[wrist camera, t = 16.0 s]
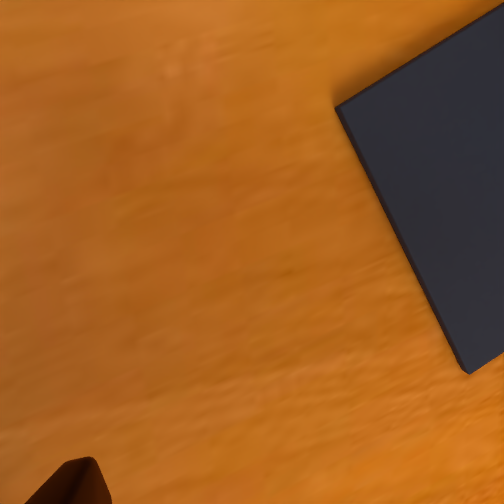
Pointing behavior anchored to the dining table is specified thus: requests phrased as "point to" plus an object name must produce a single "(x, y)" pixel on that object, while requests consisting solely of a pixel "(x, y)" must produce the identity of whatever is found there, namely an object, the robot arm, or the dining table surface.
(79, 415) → the dining table surface
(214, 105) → the dining table surface
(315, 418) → the dining table surface
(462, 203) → the blue mat
